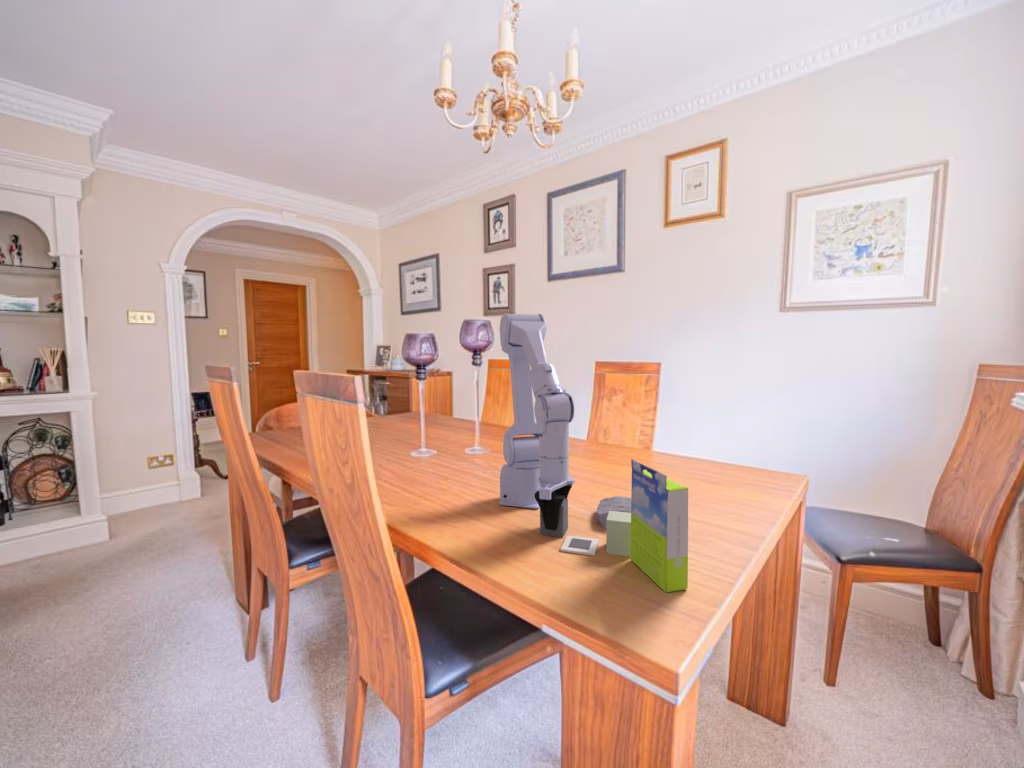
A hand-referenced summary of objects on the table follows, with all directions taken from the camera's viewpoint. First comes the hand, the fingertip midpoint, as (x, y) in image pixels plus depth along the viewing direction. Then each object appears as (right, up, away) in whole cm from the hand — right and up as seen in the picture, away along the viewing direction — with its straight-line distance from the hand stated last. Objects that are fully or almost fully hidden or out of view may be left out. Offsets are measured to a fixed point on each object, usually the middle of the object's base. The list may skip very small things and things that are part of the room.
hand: (554, 524), depth 83 cm
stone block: (+14, -1, +6) cm, 16 cm away
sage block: (+11, -2, -8) cm, 14 cm away
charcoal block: (0, -1, 0) cm, 1 cm away
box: (+14, -3, -16) cm, 22 cm away
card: (+4, -2, -7) cm, 8 cm away
